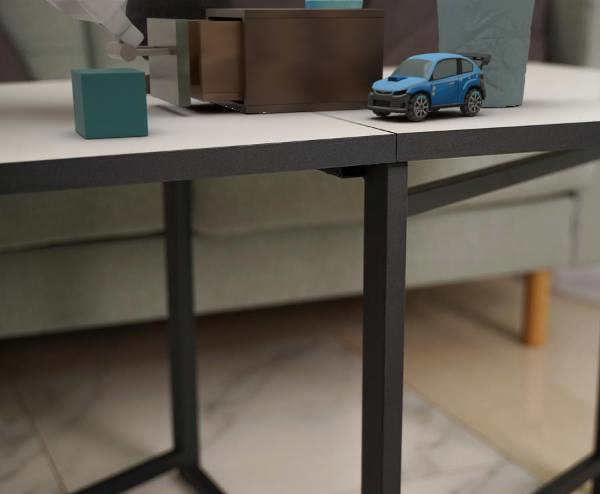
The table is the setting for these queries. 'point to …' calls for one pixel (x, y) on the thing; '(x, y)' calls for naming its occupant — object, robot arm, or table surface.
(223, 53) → the drawer
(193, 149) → the table surface
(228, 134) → the table surface
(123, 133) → the block
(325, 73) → the cabinet
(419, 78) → the toy car
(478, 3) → the grey-green crumpled block
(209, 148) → the table surface
